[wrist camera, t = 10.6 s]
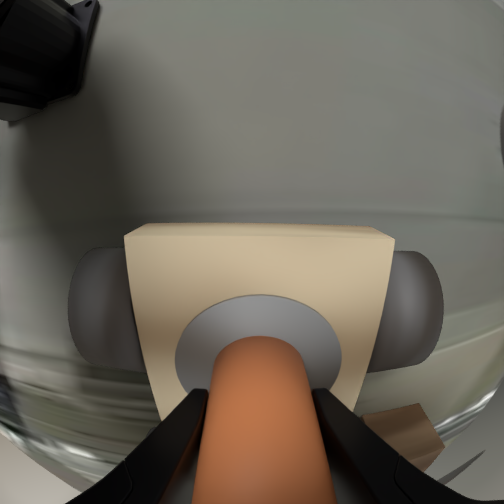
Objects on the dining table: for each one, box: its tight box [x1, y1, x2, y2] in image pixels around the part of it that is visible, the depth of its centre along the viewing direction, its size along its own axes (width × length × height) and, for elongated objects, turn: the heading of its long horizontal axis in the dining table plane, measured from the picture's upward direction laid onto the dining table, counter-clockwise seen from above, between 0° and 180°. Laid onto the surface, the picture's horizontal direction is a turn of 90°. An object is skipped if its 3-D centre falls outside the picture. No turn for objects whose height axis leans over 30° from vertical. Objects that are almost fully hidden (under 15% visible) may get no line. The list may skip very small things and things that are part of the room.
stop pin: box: [191, 336, 337, 504], centre depth 6 cm, size 3×3×6 cm
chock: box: [361, 403, 445, 472], centre depth 14 cm, size 4×5×5 cm
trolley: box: [68, 223, 444, 437], centre depth 12 cm, size 19×13×5 cm
